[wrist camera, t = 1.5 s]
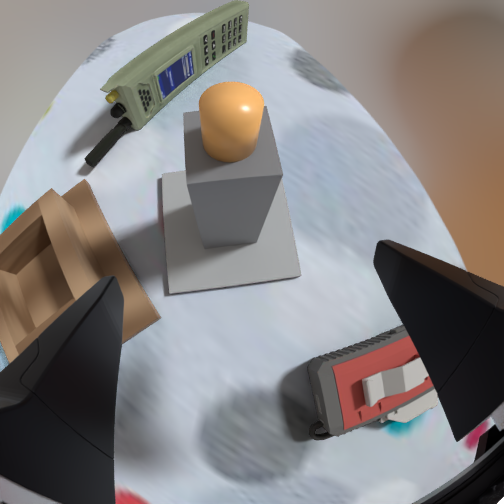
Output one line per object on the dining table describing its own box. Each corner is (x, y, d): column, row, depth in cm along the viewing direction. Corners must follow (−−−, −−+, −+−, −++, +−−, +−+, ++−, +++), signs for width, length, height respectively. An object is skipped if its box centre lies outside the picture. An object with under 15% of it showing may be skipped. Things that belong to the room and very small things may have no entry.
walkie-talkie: (310, 452, 19) (472, 368, 21) (327, 475, 14) (500, 370, 17) (289, 361, 20) (462, 294, 23) (305, 370, 16) (491, 288, 19)
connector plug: (256, 242, 22) (296, 140, 9) (204, 249, 21) (177, 149, 9) (249, 195, 23) (273, 69, 10) (199, 200, 22) (177, 75, 9)
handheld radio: (250, 44, 29) (104, 178, 23) (230, 37, 29) (84, 164, 23) (253, 3, 22) (73, 136, 16) (230, -2, 23) (54, 124, 16)
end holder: (161, 317, 20) (142, 316, 15) (46, 394, 17) (14, 405, 12) (88, 183, 22) (65, 155, 17) (-6, 265, 19) (-37, 254, 14)
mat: (299, 276, 22) (301, 275, 21) (170, 293, 21) (169, 293, 20) (277, 164, 24) (278, 161, 24) (163, 176, 23) (161, 173, 22)
